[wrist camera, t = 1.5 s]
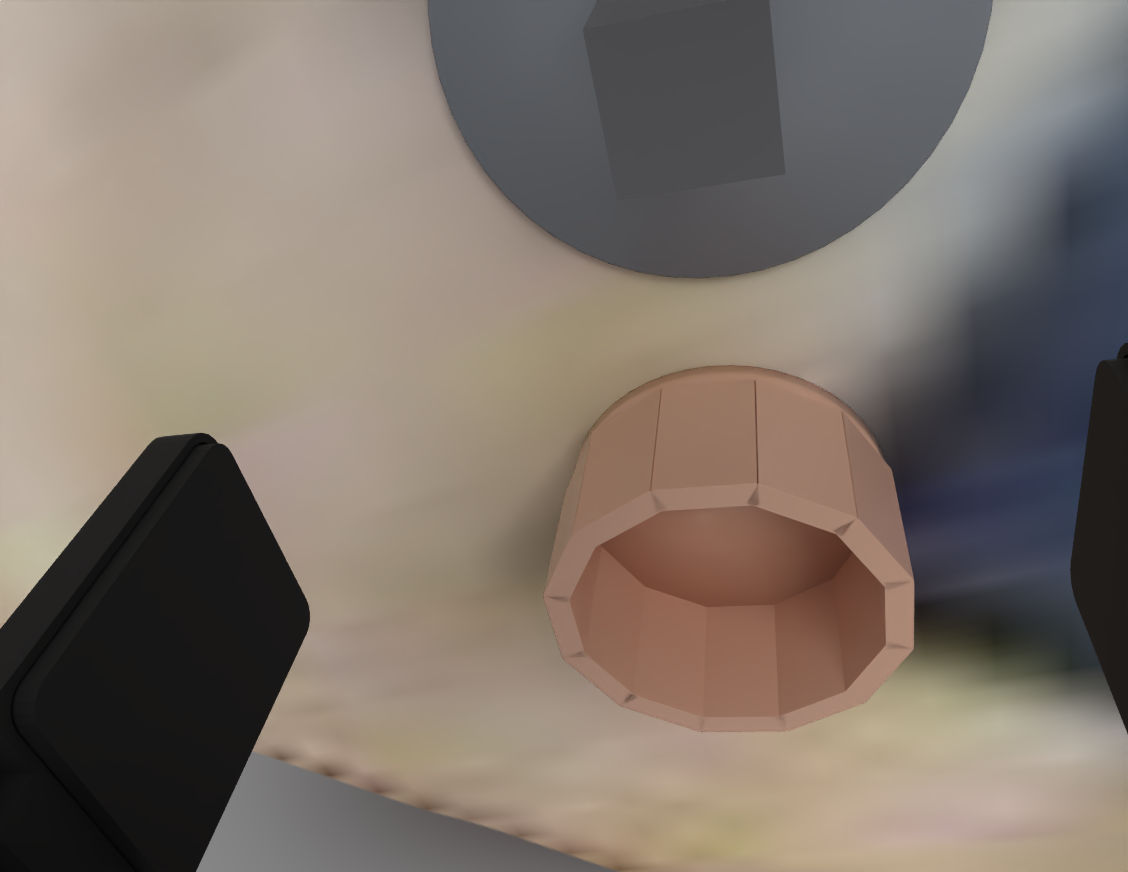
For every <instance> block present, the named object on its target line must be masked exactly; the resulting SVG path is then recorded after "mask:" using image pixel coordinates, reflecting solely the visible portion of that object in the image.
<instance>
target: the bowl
mask: <svg viewBox="0 0 1128 872" xmlns="http://www.w3.org/2000/svg"><path fill="white" fill-rule="evenodd" d="M543 598H544V601H545V605H546V608H547V611H548V614H549V617H550V620H551V623H552V627H553V630H554V633H555V636H556V639H557V642H558V645H559V649H560V652H561V655H562V658H563V659H564V660H565V661H567V662H568V663H569V664H570V665H571V666H573V667H574V668H575V669H576V670H577V671H579V672H580V673H581V674H582V675H583V676H585V677H586V678H587V679H588V680H589V681H590V682H592V683H593V684H594V685H595V686H596V687H598V688H599V689H600V690H601V691H602V692H604V693H605V694H606V695H607V696H608V697H610V698H611V699H612V700H613V701H614V702H616V703H617V704H618V705H620V706H621V707H625V708H628V709H631V710H634V711H637V712H640V713H643V714H646V715H649V716H652V717H656V718H659V719H662V720H665V721H668V722H671V723H674V724H677V725H680V726H683V727H687V728H690V729H693V730H696V731H700V732H740V731H789V730H792V729H795V728H797V727H800V726H803V725H806V724H808V723H811V722H814V721H817V720H819V719H822V718H825V717H827V716H830V715H833V714H836V713H838V712H841V711H844V710H847V709H849V708H852V707H855V706H857V705H860V704H863V703H864V702H866V701H867V700H868V699H869V698H870V697H871V696H872V695H873V693H874V692H875V691H876V690H877V689H878V688H879V687H880V686H881V685H882V684H883V682H884V681H885V680H886V679H887V678H888V677H889V676H890V675H891V674H892V672H893V671H894V670H895V669H896V668H897V667H898V666H899V665H900V664H901V663H902V661H903V660H904V659H905V658H906V657H907V656H908V655H909V654H910V653H911V652H912V650H913V649H914V578H913V573H912V568H911V563H910V558H909V553H908V548H907V543H906V538H905V533H904V528H903V523H902V518H901V513H900V508H899V503H898V498H897V494H896V489H895V484H894V479H893V474H892V470H891V468H890V467H889V466H888V464H887V463H886V462H885V460H884V457H883V454H882V451H881V449H880V447H879V445H878V443H877V441H876V439H875V437H874V435H873V434H872V432H871V431H870V430H869V428H868V427H867V425H866V424H865V423H864V421H863V420H862V419H861V418H860V417H859V416H858V415H857V414H856V413H855V412H854V411H853V410H852V409H851V408H850V407H849V406H847V405H846V404H845V403H843V402H842V401H841V400H839V399H838V398H837V397H836V396H834V395H832V394H831V393H829V392H827V391H825V390H824V389H822V388H820V387H819V386H817V385H814V384H812V383H810V382H807V381H805V380H803V379H800V378H798V377H795V376H792V375H788V374H785V373H782V372H778V371H774V370H768V369H763V368H757V367H748V366H733V365H728V366H707V367H701V368H694V369H688V370H684V371H680V372H676V373H672V374H669V375H665V376H663V377H660V378H658V379H655V380H653V381H650V382H648V383H645V384H644V385H642V386H640V387H638V388H636V389H635V390H633V391H631V392H629V393H628V394H626V395H625V396H624V397H622V398H621V399H619V400H618V401H617V402H615V403H614V404H613V405H612V406H611V407H610V408H609V409H608V410H607V411H606V412H605V413H603V414H602V415H601V416H600V418H599V419H598V420H597V422H596V423H595V424H594V425H593V427H592V428H591V429H590V431H589V433H588V435H587V436H586V438H585V440H584V442H583V444H582V446H581V449H580V452H579V455H578V458H577V462H576V467H575V471H574V474H573V476H572V478H571V480H570V483H569V485H568V487H567V489H566V492H565V496H564V501H563V506H562V510H561V515H560V520H559V524H558V529H557V534H556V538H555V543H554V547H553V552H552V557H551V561H550V566H549V571H548V575H547V580H546V585H545V589H544V594H543Z"/></svg>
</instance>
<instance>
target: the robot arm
mask: <svg viewBox="0 0 1128 872" xmlns="http://www.w3.org/2000/svg"><path fill="white" fill-rule="evenodd" d="M1070 571H1071V583H1072V589H1073V594H1074V597H1075V600H1076V603H1077V606H1078V609H1079V611H1080V614H1081V616H1082V619H1083V621H1084V624H1085V626H1086V629H1087V631H1088V634H1089V636H1090V639H1091V642H1092V644H1093V647H1094V649H1095V652H1096V654H1097V657H1098V659H1099V662H1100V664H1101V667H1102V670H1103V672H1104V675H1105V677H1106V680H1107V682H1108V685H1109V687H1110V690H1111V692H1112V695H1113V698H1114V700H1115V703H1116V705H1117V708H1118V710H1119V713H1120V715H1121V718H1122V720H1123V723H1124V726H1125V728H1126V731H1127V733H1128V343H1125V344H1124V345H1123V346H1121V348H1120V350H1119V352H1118V355H1117V359H1113V360H1103V361H1101V362H1100V363H1099V365H1098V367H1097V371H1096V375H1095V383H1094V390H1093V398H1092V406H1091V413H1090V421H1089V428H1088V436H1087V444H1086V451H1085V459H1084V466H1083V474H1082V481H1081V489H1080V497H1079V504H1078V512H1077V519H1076V527H1075V535H1074V542H1073V550H1072V557H1071V568H1070ZM309 622H310V611H309V605H308V603H307V600H306V598H305V596H304V594H303V592H302V590H301V588H300V586H299V584H298V582H297V580H296V578H295V576H294V574H293V572H292V570H291V568H290V567H289V565H288V563H287V561H286V559H285V557H284V555H283V553H282V551H281V549H280V547H279V545H278V543H277V541H276V539H275V537H274V535H273V533H272V531H271V529H270V527H269V525H268V523H267V522H266V520H265V518H264V516H263V514H262V512H261V510H260V508H259V506H258V504H257V502H256V500H255V498H254V496H253V494H252V492H251V490H250V488H249V486H248V484H247V482H246V480H245V478H244V477H243V475H242V473H241V471H240V469H239V467H238V465H237V463H236V461H235V459H234V457H233V455H232V453H231V452H230V450H229V449H228V448H227V447H226V446H225V445H223V444H219V443H217V442H216V440H215V439H214V438H213V437H211V436H210V435H209V434H205V433H194V434H184V435H174V436H164V437H159V438H156V439H155V440H153V441H152V442H151V443H150V444H149V445H148V446H147V448H146V449H145V450H144V451H143V453H142V454H141V455H140V456H139V457H138V459H137V460H136V461H135V462H134V464H133V465H132V466H131V467H130V469H129V470H128V471H127V472H126V474H125V475H124V476H123V477H122V479H121V480H120V481H119V482H118V484H117V485H116V486H115V487H114V489H113V490H112V491H111V492H110V493H109V495H108V496H107V497H106V498H105V500H104V501H103V502H102V503H101V505H100V506H99V507H98V508H97V510H96V511H95V512H94V513H93V515H92V516H91V517H90V518H89V520H88V521H87V522H86V523H85V525H84V526H83V527H82V528H81V529H80V531H79V532H78V533H77V534H76V536H75V537H74V538H73V539H72V541H71V542H70V543H69V544H68V546H67V547H66V548H65V549H64V551H63V552H62V553H61V554H60V556H59V557H58V558H57V559H56V561H55V562H54V563H53V564H52V566H51V567H50V568H49V569H48V570H47V572H46V573H45V574H44V575H43V577H42V578H41V579H40V580H39V582H38V583H37V584H36V585H35V587H34V588H33V589H32V590H31V592H30V593H29V594H28V595H27V597H26V598H25V599H24V600H23V602H22V603H21V604H20V605H19V606H18V608H17V609H16V610H15V611H14V613H13V614H12V615H11V616H10V618H9V619H8V620H7V621H6V623H5V624H4V625H3V626H2V628H1V629H0V872H196V870H197V868H198V866H199V864H200V862H201V859H202V857H203V855H204V853H205V851H206V849H207V847H208V844H209V842H210V840H211V838H212V836H213V834H214V832H215V829H216V827H217V825H218V823H219V820H220V819H221V816H222V814H223V812H224V810H225V808H226V806H227V803H228V801H229V799H230V797H231V795H232V793H233V791H234V789H235V786H236V784H237V782H238V780H239V778H240V776H241V773H242V771H243V769H244V767H245V765H246V763H247V761H248V758H249V756H250V754H251V752H252V750H253V748H254V746H255V743H256V741H257V739H258V737H259V735H260V733H261V730H262V728H263V726H264V724H265V722H266V720H267V718H268V715H269V713H270V711H271V709H272V707H273V705H274V703H275V700H276V698H277V696H278V694H279V692H280V690H281V687H282V685H283V683H284V681H285V679H286V677H287V675H288V672H289V670H290V668H291V666H292V664H293V662H294V660H295V657H296V655H297V653H298V651H299V649H300V647H301V644H302V642H303V640H304V638H305V636H306V634H307V631H308V628H309Z"/></svg>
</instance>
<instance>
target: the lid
mask: <svg viewBox="0 0 1128 872" xmlns="http://www.w3.org/2000/svg"><path fill="white" fill-rule="evenodd" d="M992 1H993V0H428V14H429V23H430V33H431V42H432V48H433V52H434V57H435V61H436V66H437V70H438V74H439V79H440V82H441V85H442V88H443V90H444V93H445V96H446V99H447V102H448V104H449V107H450V110H451V113H452V115H453V117H454V119H455V121H456V123H457V125H458V127H459V129H460V131H461V133H462V135H463V137H464V139H465V141H466V143H467V145H468V146H469V148H470V149H471V151H472V152H473V154H474V155H475V157H476V159H477V160H478V162H479V163H480V165H481V166H482V168H483V169H484V171H485V172H486V173H487V174H488V176H489V177H490V178H491V179H492V180H493V182H494V183H495V184H496V185H497V186H498V188H499V189H500V190H501V191H502V192H503V194H504V195H505V196H506V197H507V198H508V199H509V200H510V201H511V202H512V203H513V204H515V205H516V206H517V207H518V208H519V209H520V210H521V211H522V212H523V213H524V214H525V215H526V216H527V217H528V218H530V219H531V220H532V221H534V222H535V223H536V224H538V225H539V226H540V227H542V228H543V229H545V230H546V231H547V232H549V233H550V234H551V235H553V236H554V237H556V238H558V239H559V240H561V241H563V242H565V243H566V244H568V245H570V246H572V247H573V248H575V249H577V250H579V251H580V252H583V253H585V254H588V255H590V256H592V257H595V258H597V259H599V260H602V261H604V262H607V263H609V264H612V265H616V266H619V267H623V268H626V269H630V270H633V271H637V272H642V273H648V274H654V275H660V276H666V277H683V278H710V277H723V276H733V275H739V274H744V273H749V272H754V271H759V270H764V269H767V268H770V267H773V266H776V265H780V264H783V263H786V262H789V261H792V260H795V259H797V258H799V257H802V256H804V255H806V254H808V253H811V252H813V251H815V250H817V249H820V248H822V247H824V246H826V245H827V244H829V243H831V242H833V241H834V240H836V239H838V238H839V237H841V236H843V235H844V234H846V233H848V232H849V231H851V230H853V229H854V228H856V227H857V226H858V225H860V224H861V223H862V222H864V221H865V220H866V219H867V218H869V217H870V216H871V215H873V214H874V213H875V212H877V211H878V210H879V209H881V208H882V207H883V206H884V205H885V204H886V203H887V202H888V201H889V200H890V199H891V198H892V197H893V196H894V195H896V194H897V193H898V192H899V191H900V190H901V189H902V188H903V187H904V186H905V185H906V184H907V183H908V182H909V181H910V179H911V178H912V177H913V176H914V175H915V173H916V172H917V171H918V170H919V169H920V167H921V166H922V165H923V164H924V163H925V161H926V160H927V159H928V158H929V157H930V155H931V154H932V153H933V151H934V149H935V148H936V146H937V145H938V143H939V142H940V140H941V139H942V137H943V136H944V134H945V133H946V131H947V130H948V128H949V127H950V125H951V124H952V122H953V120H954V118H955V116H956V114H957V112H958V110H959V108H960V106H961V104H962V102H963V100H964V98H965V96H966V94H967V92H968V90H969V87H970V85H971V82H972V79H973V76H974V73H975V71H976V68H977V65H978V62H979V59H980V57H981V54H982V51H983V47H984V42H985V38H986V33H987V29H988V25H989V20H990V16H991V11H992Z"/></svg>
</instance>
